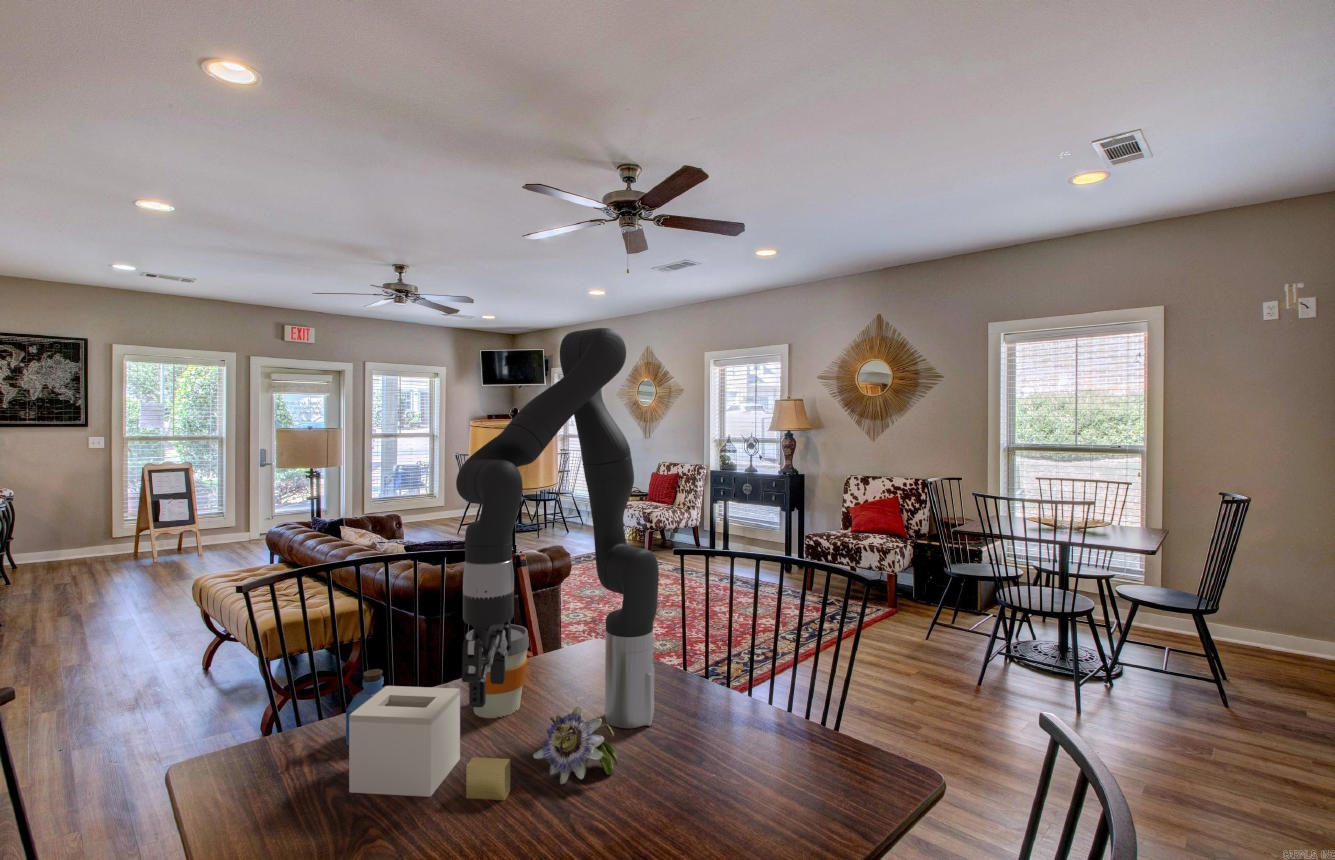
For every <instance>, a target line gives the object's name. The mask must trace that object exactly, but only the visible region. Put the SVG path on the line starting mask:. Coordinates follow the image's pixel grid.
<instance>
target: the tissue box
mask: <svg viewBox="0 0 1335 860" xmlns="http://www.w3.org/2000/svg"><path fill="white" fill-rule="evenodd" d="M383 687H384V688H383V689H382V690H380V691H379V692H378V693H377V694H375V695H374V696H373V697H372V698H370V699H369V700H368V701H366V702H365V703H364V704H363V705H361V706H360V707H359V708H358V709H356V710H355V711H354V712H353V713H351V714H350V715H349V745H348V747H349V748H348V753H349V755H348V757H349V759H348V760H349V762H348V764H349V765H348V769H349V770H348V773H349V774H348V783H349V788H348V791H349V793H351V794H353V793H354V794H374V795H389V796H390V795H392V796H407V797H409V796H410V797H413V796H414V797H427V798H429V797H430V798H431V797H432V796H433V795H434V793H435V792H436V790H437V789H438V788H439V787H440V785H441V784H442V783H443V782H444V780H445V779H446V778H447V777H448V776H449V774H450V773H451V771H452V770H453V768H454V767H456V765H457V763H458V762H459V761H460V760H461V688H454V687H453V688H452V687H451V688H450V687H449V688H448V687H430V686H427V687H426V686H425V687H424V686H400V685H398V686H397V685H385V686H383Z"/></svg>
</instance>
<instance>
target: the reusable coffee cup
mask: <svg viewBox="0 0 1335 860" xmlns="http://www.w3.org/2000/svg"><path fill="white" fill-rule="evenodd" d="M473 630H474V628H473V629H471V630H470V631H468V632H466V634H465V640H471V638H472V635H473ZM529 647H530V641H529V632H528V629H527V628H526V627H525V626H522V625H517V624H512V623H511V650H510V651H507V653H508V655H507V658H506V659H504V660H505V681H504V683H503V684H492V683H491V682H490V667H489V668H488V671H487V675H486V680H485V681H486V703H485V705H484V706H483V707H472V708H473V713H474V714H475V715H476V716H478V717H481V718H485V719H498V718H497V717H500V718H504V717H507V715H508V716H510V715H513V714H514V713H516V712H517V711H518V710H519V709H520V706H521V698H522V693H523V692H522V690H523V686H524V684H525V683H526V677H527V670H528V669H527V668H528V663H529V659H528V657H527V652H528V648H529ZM482 659H486V658H482ZM482 667H483V666H482ZM468 671H469V669H468ZM474 673H475V671H474ZM467 687H468V688H469V682H467ZM516 710H517V711H516ZM515 711H516V712H515ZM513 712H514V713H513ZM512 713H513V714H512ZM503 716H504V717H503Z"/></svg>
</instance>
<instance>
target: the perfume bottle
mask: <svg viewBox="0 0 1335 860" xmlns="http://www.w3.org/2000/svg"><path fill="white" fill-rule="evenodd" d="M383 672H384V671H383V670H382V669H379V668H374V669H369V670H367V671H364V672H363V679H362V687H363V689H362V690H361V691H359V692H357V693H356V694H355V695H354V696H353V699H352V700H351V702H350V703H349V705H348V707H347V708H346V711H345V745H346V746H349V715H350V714H351V713H353V712H354V711H355V710H356V709H358V708H359V707H360V706H361V705H363V704H364V703H365V702H366V701H368V700H369V699H370V698H372V697H373V696H374V695H375V694H377V693H378V692H379V691H380V690H382V689H383V688H384V687H385V686H383V685H384V676H382V675H383Z"/></svg>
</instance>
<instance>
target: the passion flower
mask: <svg viewBox="0 0 1335 860" xmlns="http://www.w3.org/2000/svg"><path fill="white" fill-rule="evenodd" d="M549 719H550V721H551V722H552V723H551V725H550V726H551V727H548V728H547V729H546V734H547V735H548V737H547V738H546V740H544V741H542V746H541V747H540V748H538V749H537V750H536V751H533V754H532V758H533V759H535V760H541V759H546V761H547V763H548V764H550V765H549V770H548V772H549V776H550V777H552V776H555V775H559V784H560V785H561V786H562V785H565V784H566V783H567V781H568V780H569V778H570V776H571V773H572V772H573V773H574V774H575V776H576V778H577V779H579V780H583V779H584V778H585V776H586V774H587V764H588V761H590V760H592V761H599V763H600V764H601V766H602V768H603V770H604V772H605V774H606V775H609V776H612V775H613V771H614V765H613V761H614V764H615V765H616V766H618V764H619V761H618V758H617V754H616V753H615V749H614V748H613V746H612V745H611V744H610V743H608V742H607V741H605V737H604V736H602V735H600V734H597V733H595V732H596V731H598V730H599V729H601V728H602V727H605V728H606V729H607V731H608V732H609V735H610V738H612V737H614V736H615V733H614V731H613V730H612V727H610V724H609V723H607V722H606V723H605V724H602V722H603V721H602V718H596V719H595V718H594V719H591V720H590V721H585V722H584V719H583V711H582V707H580V705H578V706H576V707H575V708H574V709H573V711H571V713H568V714H567V715H564V716H561V715H560V714H557V715H556V716H555V718H554V717H553V716H552V717H549ZM582 719H583V720H582ZM583 722H584V723H583ZM612 759H613V760H612Z"/></svg>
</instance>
